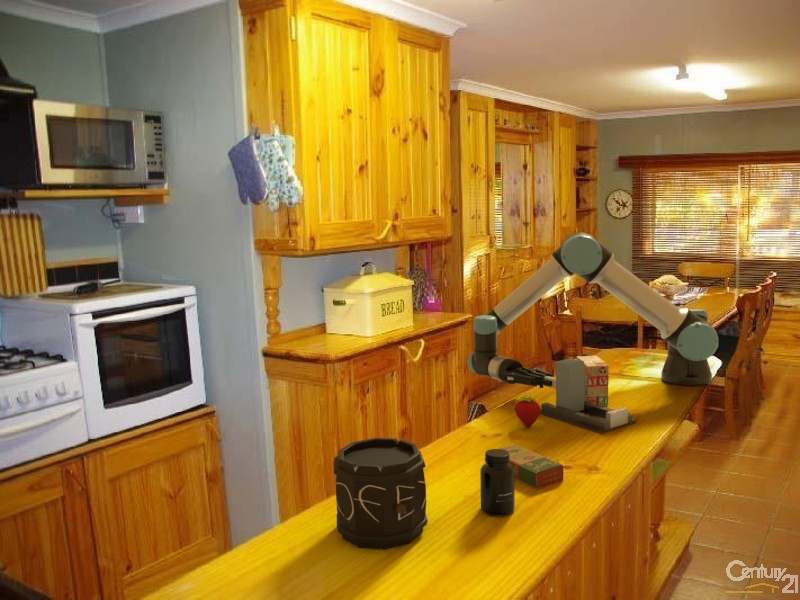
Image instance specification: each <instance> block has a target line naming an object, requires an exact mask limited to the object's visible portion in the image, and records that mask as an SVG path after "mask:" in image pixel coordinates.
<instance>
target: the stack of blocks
mask: <svg viewBox="0 0 800 600" xmlns="http://www.w3.org/2000/svg"><path fill="white" fill-rule="evenodd" d="M575 359H576V360H581V361H584V401H585V402H589V403H592V404H596V405H600V406H601V405H608V406H609V385H610V384H609V381H610V379H609V374H610V373H609V371H610V370H609V368H610V367H609V364H607V363H606V361H605V360H602V358H600V357H599V356H597V355H584V356H582V355H579V356H578V355H577V356H576V358H575Z"/></svg>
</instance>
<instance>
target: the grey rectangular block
mask: <svg viewBox="0 0 800 600" xmlns="http://www.w3.org/2000/svg"><path fill="white" fill-rule="evenodd" d="M555 378H556V389H555V405H557V406H560V407H563V408H567V409H570V410H573V411H576V412H578V411H581V410H584V361H581V360H576V358H566V359H560V360H558V361H555Z"/></svg>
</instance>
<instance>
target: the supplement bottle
mask: <svg viewBox="0 0 800 600" xmlns="http://www.w3.org/2000/svg"><path fill="white" fill-rule="evenodd" d="M484 462H485V463H484V464H483V465H482V466H480V470H479V471H480V472H479V473H480V476H479V478H480V480H479V482H480V491H479V492H480V495H479V496H480V509H481V511H482V512H483V513H484V514H486V515H489V516H493V517H503V516H508V515H511V514H512V513H513V512H514V511H515V507H516V505H515V503H516V502H515V501H516V500H515V499H516V498H515V497H516V495H515V494H516V492H515V490H516V489H515V487H516V486H515V483H516V482H515V481H516V480H515V471H514V468H513V467H512V465H510V464H509V462H510V459H509V452H508V451H506V450H503V449H499V448H492V449H491V448H490V449H488V450H486V451H485V453H484Z"/></svg>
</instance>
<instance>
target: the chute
mask: <svg viewBox="0 0 800 600" xmlns="http://www.w3.org/2000/svg"><path fill="white" fill-rule="evenodd" d="M540 404H541V405H540V408H541V411H540V415H542V416H545V417H549V418H550V419H551V418H552V419H555V420H559V421H560V422H564V423H567V424H570V425H573V426H576V427H579V428H583V429H586V430H588V431H591V432H595V433H597V434H605V433H608V432H611V431H615V430H617V429H620V428H623V427H626V426H629V424H630V425H632V424H631V423H633V424H636V423H637V420H636V419H633V414H631V413H629V411H628V410H629V408H628V407H624V406H623V407H622V406H621V407H619V408H616V409H613V408H609V407H606V406H600V405H596V404H592V403H589V402H585V401H584V410H581V411H578V412H576V411H573V410H570V409H567V408H563V407H560V406H557V405H556V404H553V403H550V402H543V403H540ZM635 422H636V423H635ZM622 426H623V427H622Z"/></svg>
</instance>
